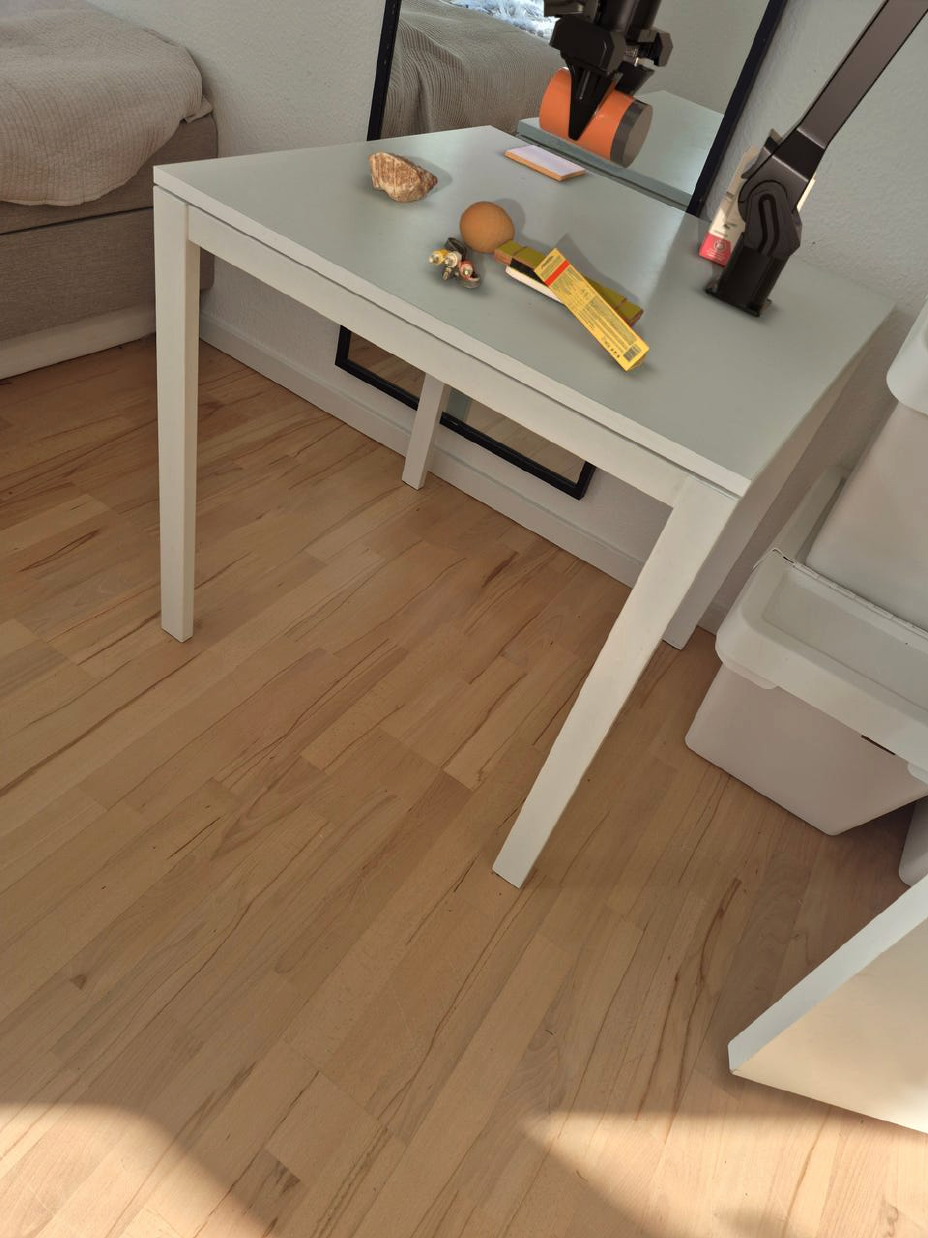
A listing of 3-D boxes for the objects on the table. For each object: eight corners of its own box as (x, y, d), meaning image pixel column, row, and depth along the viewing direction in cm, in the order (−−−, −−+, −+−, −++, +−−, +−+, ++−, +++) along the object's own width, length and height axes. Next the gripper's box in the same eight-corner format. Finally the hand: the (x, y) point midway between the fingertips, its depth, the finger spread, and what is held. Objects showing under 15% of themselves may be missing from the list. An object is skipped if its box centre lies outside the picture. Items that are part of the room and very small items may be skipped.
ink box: (696, 254, 99) (744, 148, 91) (701, 245, 103) (748, 142, 95) (763, 282, 98) (817, 178, 91) (766, 272, 102) (819, 170, 94)
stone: (427, 221, 87) (442, 173, 86) (422, 201, 81) (438, 149, 81) (363, 199, 87) (377, 151, 86) (353, 177, 81) (369, 125, 81)
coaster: (559, 181, 106) (561, 176, 106) (504, 155, 108) (505, 150, 108) (584, 173, 112) (585, 168, 112) (531, 149, 114) (533, 144, 114)
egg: (460, 187, 77) (507, 205, 81) (443, 236, 80) (490, 250, 83) (485, 203, 75) (533, 220, 79) (467, 252, 77) (514, 267, 81)
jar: (532, 133, 86) (551, 67, 82) (555, 128, 91) (575, 65, 87) (616, 171, 84) (639, 106, 80) (635, 165, 89) (659, 102, 85)
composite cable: (443, 243, 79) (452, 217, 77) (490, 263, 79) (499, 238, 78) (422, 277, 72) (430, 250, 70) (473, 299, 72) (483, 272, 70)
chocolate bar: (650, 348, 69) (652, 353, 71) (555, 247, 70) (560, 255, 72) (626, 371, 69) (629, 376, 72) (533, 270, 71) (538, 278, 73)
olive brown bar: (511, 235, 78) (505, 256, 80) (495, 245, 76) (489, 265, 78) (646, 306, 75) (637, 325, 77) (633, 318, 73) (624, 337, 75)
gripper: (606, -67, 85) (554, 102, 95) (529, -88, 71) (478, 111, 82) (703, -29, 83) (639, 140, 93) (642, -43, 69) (575, 157, 80)
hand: (584, 136), depth 87 cm, fingers closed on jar, 6 cm apart
